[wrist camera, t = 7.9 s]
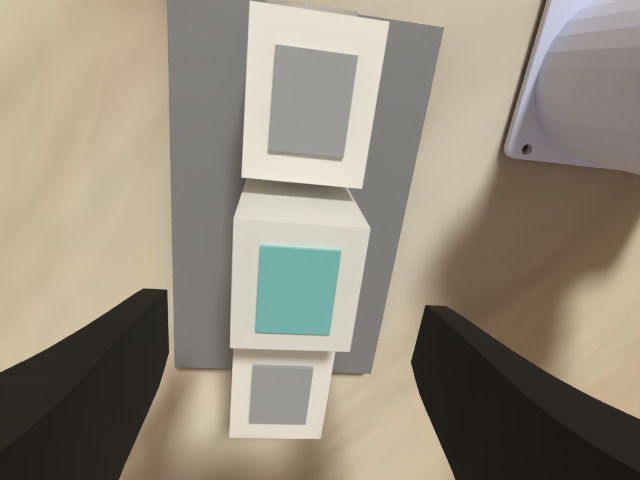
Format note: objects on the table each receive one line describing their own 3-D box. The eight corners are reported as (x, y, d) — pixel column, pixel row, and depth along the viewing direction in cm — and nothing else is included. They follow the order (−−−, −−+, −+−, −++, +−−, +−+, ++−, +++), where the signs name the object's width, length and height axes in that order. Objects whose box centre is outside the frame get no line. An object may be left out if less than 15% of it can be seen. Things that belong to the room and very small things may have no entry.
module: (340, 175, 18) (371, 230, 12) (328, 266, 20) (350, 354, 13) (249, 167, 17) (232, 220, 11) (245, 261, 19) (229, 350, 13)
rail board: (435, 29, 17) (512, 9, 12) (367, 362, 24) (394, 454, 18) (173, -10, 16) (111, -56, 10) (179, 354, 23) (143, 452, 17)
